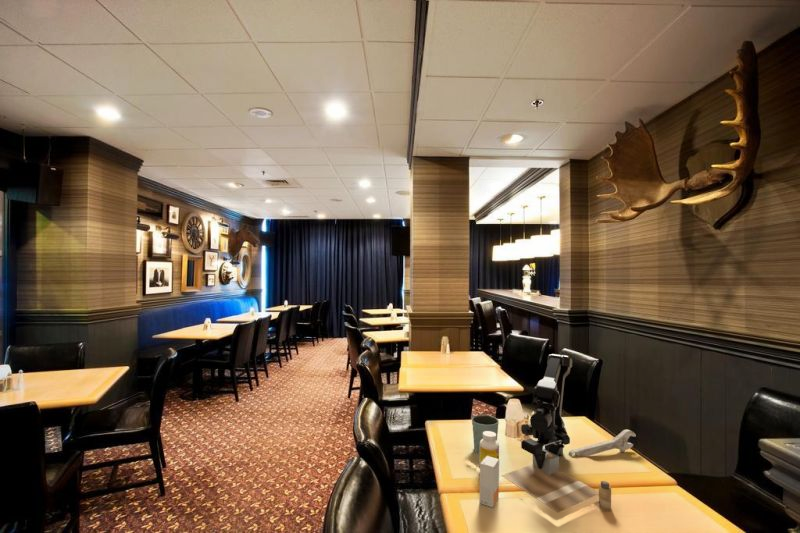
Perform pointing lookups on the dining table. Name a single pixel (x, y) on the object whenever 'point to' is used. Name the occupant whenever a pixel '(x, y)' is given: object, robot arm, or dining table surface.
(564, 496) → the board
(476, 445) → the grey green cup
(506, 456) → the dining table surface
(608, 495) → the tan small bottle
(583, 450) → the wrench
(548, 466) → the block
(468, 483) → the dining table surface
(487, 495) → the skincare box
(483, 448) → the supplement bottle
